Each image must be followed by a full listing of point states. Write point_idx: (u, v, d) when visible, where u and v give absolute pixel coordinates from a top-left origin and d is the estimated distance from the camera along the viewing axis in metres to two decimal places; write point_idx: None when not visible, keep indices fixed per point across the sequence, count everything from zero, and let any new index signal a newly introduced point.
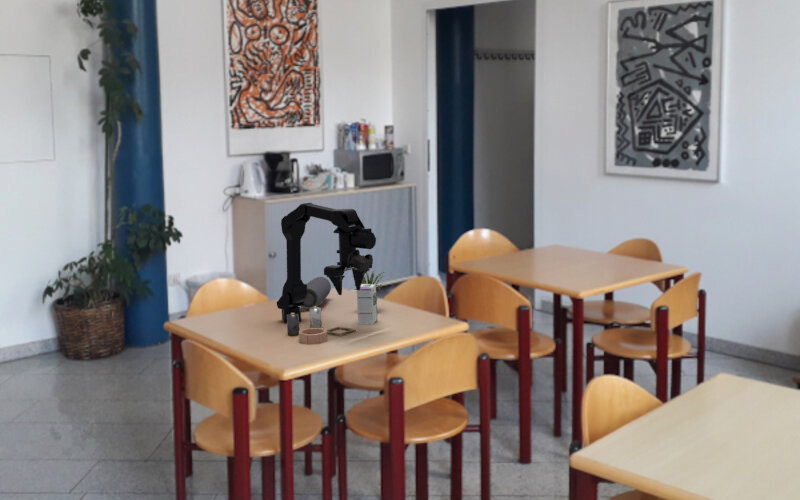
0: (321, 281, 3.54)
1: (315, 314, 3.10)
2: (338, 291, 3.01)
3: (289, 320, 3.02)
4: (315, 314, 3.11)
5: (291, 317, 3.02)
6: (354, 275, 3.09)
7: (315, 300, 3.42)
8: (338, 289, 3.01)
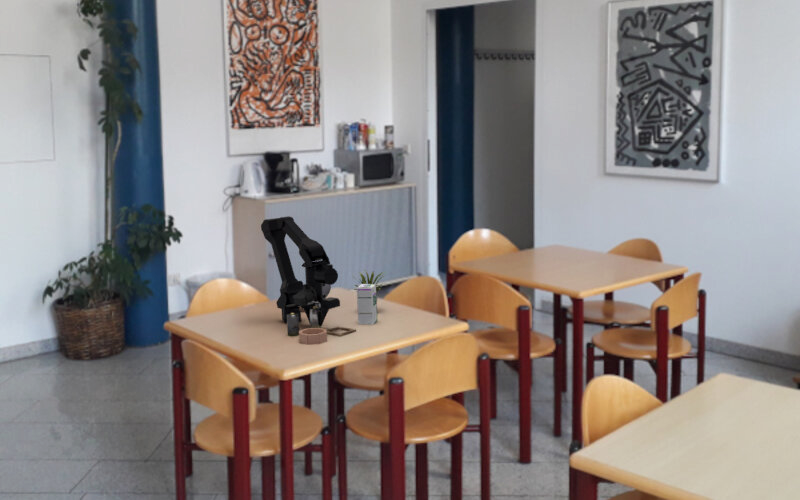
0: None
1: (315, 314, 3.10)
2: None
3: (289, 320, 3.02)
4: (315, 314, 3.11)
5: (291, 317, 3.02)
6: None
7: None
8: None
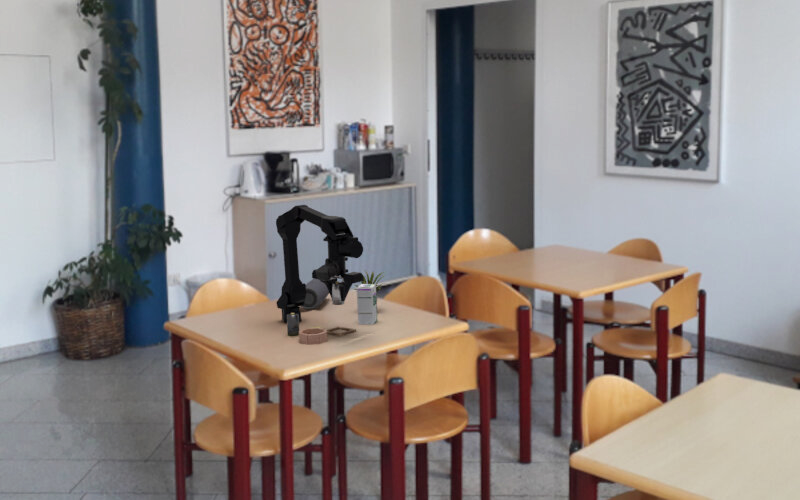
0: None
1: (338, 289, 3.02)
2: None
3: (289, 320, 3.02)
4: (338, 289, 3.02)
5: (291, 317, 3.02)
6: None
7: (315, 300, 3.42)
8: None
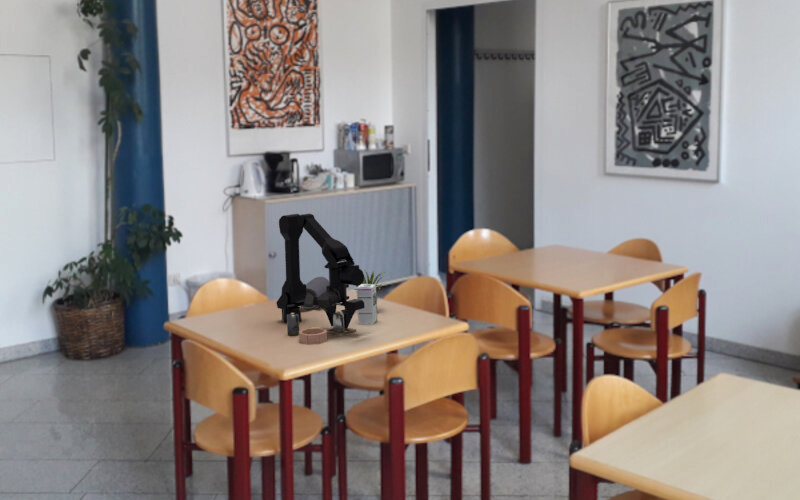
0: (321, 281, 3.54)
1: (339, 319, 3.04)
2: None
3: (289, 320, 3.02)
4: (339, 319, 3.04)
5: (291, 317, 3.02)
6: None
7: None
8: None
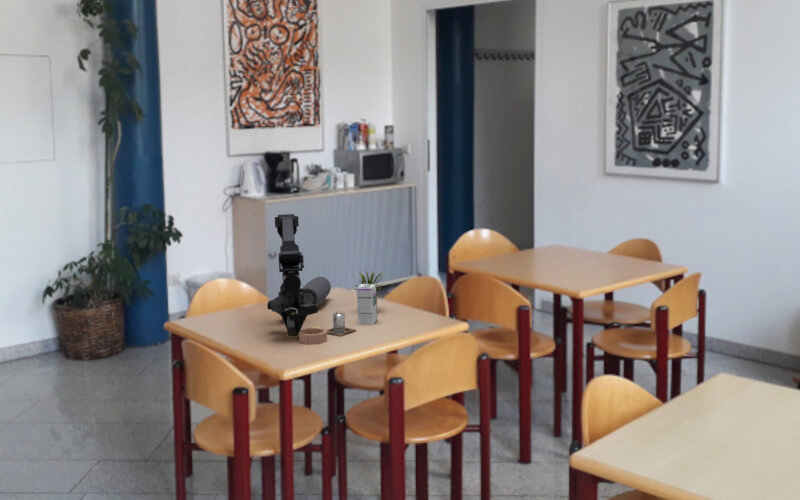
0: (321, 281, 3.54)
1: (339, 319, 3.04)
2: None
3: (289, 320, 3.02)
4: (339, 320, 3.04)
5: (291, 317, 3.02)
6: None
7: (315, 300, 3.42)
8: None
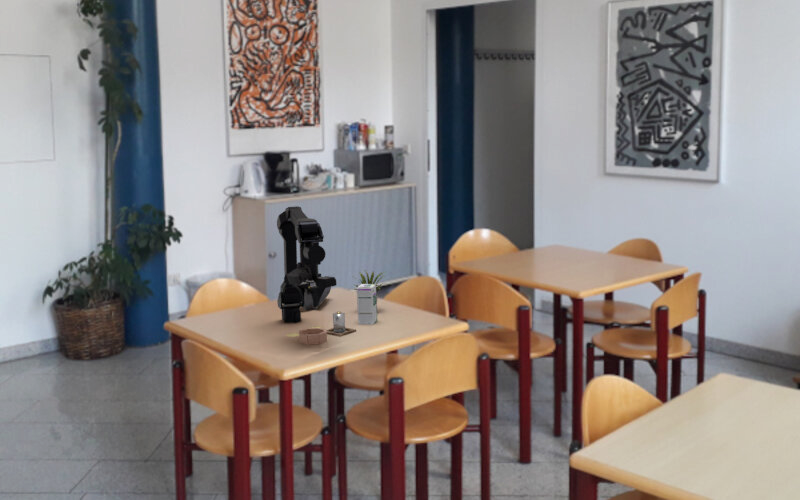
0: None
1: (339, 319, 3.04)
2: None
3: (307, 294, 2.93)
4: (339, 320, 3.04)
5: (309, 290, 2.93)
6: None
7: None
8: None
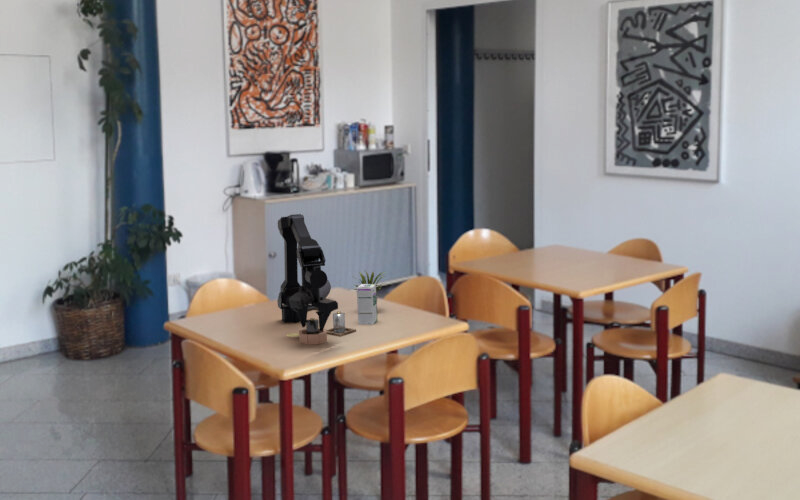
0: None
1: (339, 319, 3.04)
2: None
3: (309, 326, 2.95)
4: (339, 320, 3.04)
5: (311, 322, 2.95)
6: None
7: None
8: None
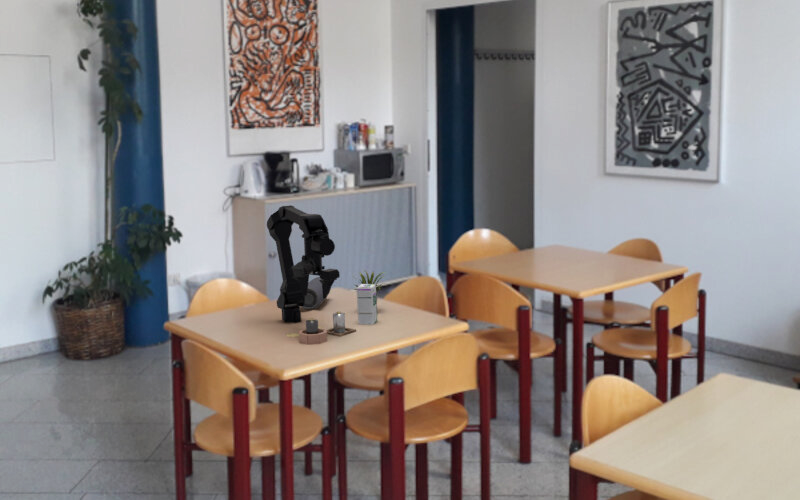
0: None
1: (339, 319, 3.04)
2: None
3: (309, 326, 2.95)
4: (339, 320, 3.04)
5: (311, 323, 2.95)
6: None
7: (315, 300, 3.42)
8: None
